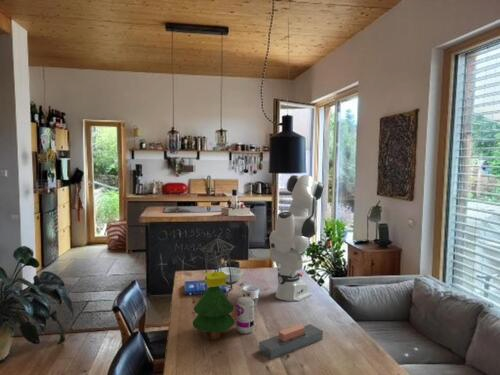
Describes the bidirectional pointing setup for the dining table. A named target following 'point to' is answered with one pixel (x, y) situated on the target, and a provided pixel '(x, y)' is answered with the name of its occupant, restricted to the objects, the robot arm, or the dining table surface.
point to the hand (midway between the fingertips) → (286, 273)
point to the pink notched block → (291, 333)
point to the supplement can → (245, 315)
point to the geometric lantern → (218, 258)
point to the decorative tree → (213, 307)
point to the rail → (289, 342)
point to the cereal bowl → (232, 274)
